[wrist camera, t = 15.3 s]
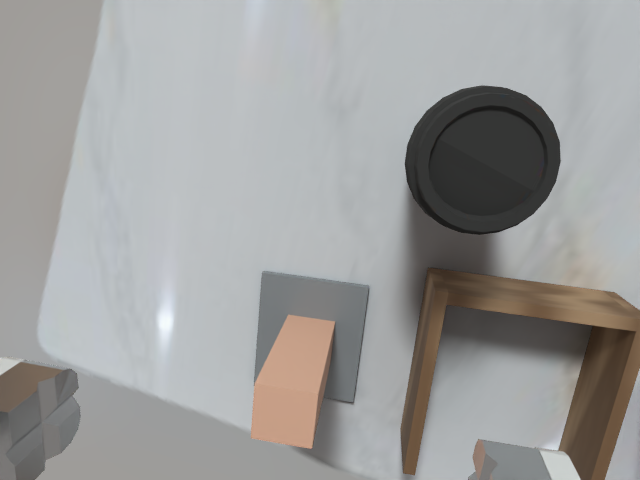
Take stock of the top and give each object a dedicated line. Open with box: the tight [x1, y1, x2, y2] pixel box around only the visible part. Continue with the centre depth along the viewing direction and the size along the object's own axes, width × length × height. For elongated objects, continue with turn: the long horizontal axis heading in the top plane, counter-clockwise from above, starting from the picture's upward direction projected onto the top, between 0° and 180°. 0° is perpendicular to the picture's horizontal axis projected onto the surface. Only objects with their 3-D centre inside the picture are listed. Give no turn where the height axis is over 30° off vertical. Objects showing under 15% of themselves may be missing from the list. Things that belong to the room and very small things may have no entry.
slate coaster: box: [254, 271, 369, 402], centre depth 44 cm, size 10×12×1 cm
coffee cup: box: [405, 86, 560, 235], centre depth 32 cm, size 8×8×15 cm
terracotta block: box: [251, 315, 335, 449], centre depth 38 cm, size 4×4×12 cm
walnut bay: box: [401, 268, 640, 480], centre depth 40 cm, size 16×17×6 cm
